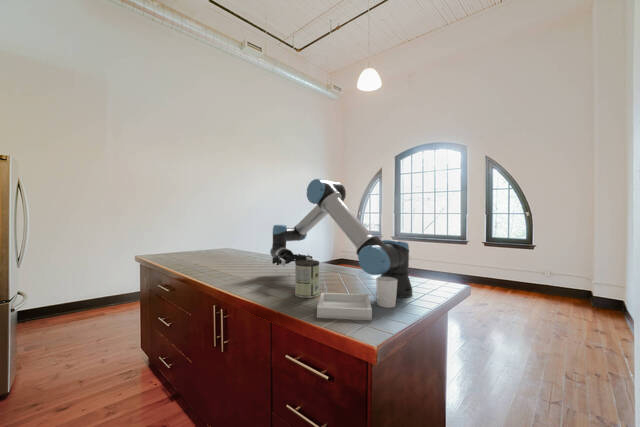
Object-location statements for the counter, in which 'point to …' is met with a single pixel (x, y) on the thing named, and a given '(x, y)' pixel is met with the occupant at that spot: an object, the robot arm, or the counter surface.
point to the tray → (344, 306)
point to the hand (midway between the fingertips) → (298, 262)
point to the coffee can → (307, 278)
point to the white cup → (386, 291)
